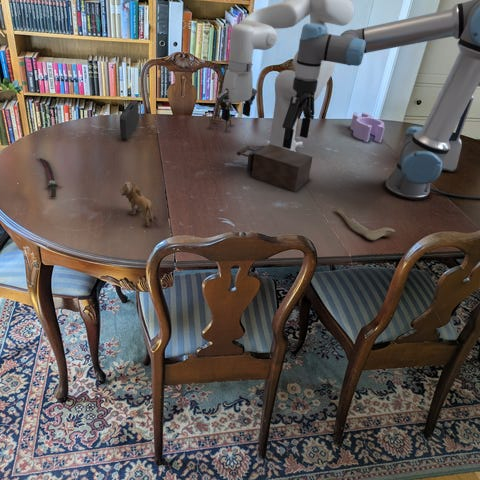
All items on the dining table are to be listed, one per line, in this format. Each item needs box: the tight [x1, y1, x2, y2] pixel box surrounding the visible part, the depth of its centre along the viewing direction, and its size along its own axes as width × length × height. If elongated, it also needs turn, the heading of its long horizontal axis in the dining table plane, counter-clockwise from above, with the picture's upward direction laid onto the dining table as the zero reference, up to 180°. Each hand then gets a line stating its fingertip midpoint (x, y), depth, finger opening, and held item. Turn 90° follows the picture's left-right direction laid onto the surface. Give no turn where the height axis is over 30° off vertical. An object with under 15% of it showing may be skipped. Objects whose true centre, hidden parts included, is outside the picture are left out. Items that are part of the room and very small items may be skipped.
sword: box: [40, 158, 59, 198], centre depth 151 cm, size 31×3×1 cm, turn 26°
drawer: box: [236, 145, 267, 174], centre depth 167 cm, size 22×11×7 cm, turn 59°
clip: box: [349, 112, 386, 143], centre depth 214 cm, size 20×12×7 cm, turn 11°
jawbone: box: [334, 207, 396, 241], centre depth 142 cm, size 9×20×2 cm, turn 50°
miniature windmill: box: [208, 56, 232, 132], centre depth 198 cm, size 9×8×30 cm
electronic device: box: [442, 94, 474, 173], centre depth 182 cm, size 12×8×30 cm, turn 71°
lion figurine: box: [119, 181, 159, 227], centre depth 134 cm, size 15×5×9 cm, turn 50°
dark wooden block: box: [251, 143, 314, 192], centre depth 165 cm, size 17×12×9 cm
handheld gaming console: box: [119, 99, 140, 141], centre depth 189 cm, size 23×3×10 cm, turn 178°
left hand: (235, 117), depth 161 cm, fingers open, 9 cm apart
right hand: (295, 142), depth 158 cm, fingers open, 13 cm apart
